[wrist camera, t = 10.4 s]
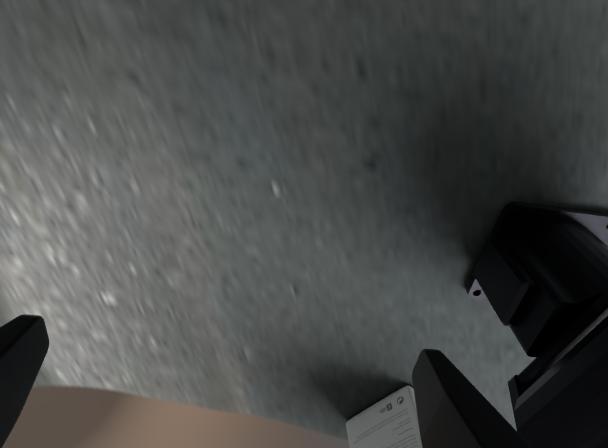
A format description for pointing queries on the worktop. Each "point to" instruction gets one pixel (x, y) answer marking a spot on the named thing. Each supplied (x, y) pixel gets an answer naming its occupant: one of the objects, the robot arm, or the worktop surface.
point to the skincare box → (387, 423)
